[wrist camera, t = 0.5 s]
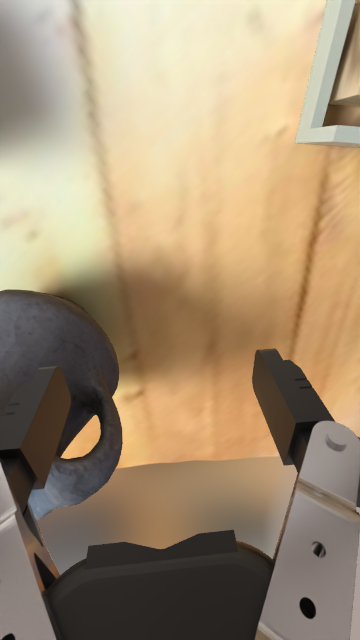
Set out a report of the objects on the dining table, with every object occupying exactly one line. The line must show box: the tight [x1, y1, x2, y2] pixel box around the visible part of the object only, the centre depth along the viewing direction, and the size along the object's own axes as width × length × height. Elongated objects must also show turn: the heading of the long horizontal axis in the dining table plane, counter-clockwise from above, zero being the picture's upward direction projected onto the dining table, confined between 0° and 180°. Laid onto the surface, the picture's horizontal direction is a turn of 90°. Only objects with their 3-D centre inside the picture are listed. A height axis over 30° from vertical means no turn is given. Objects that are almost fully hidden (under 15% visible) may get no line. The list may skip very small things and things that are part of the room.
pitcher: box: [0, 290, 122, 520], centre depth 31 cm, size 21×22×25 cm
